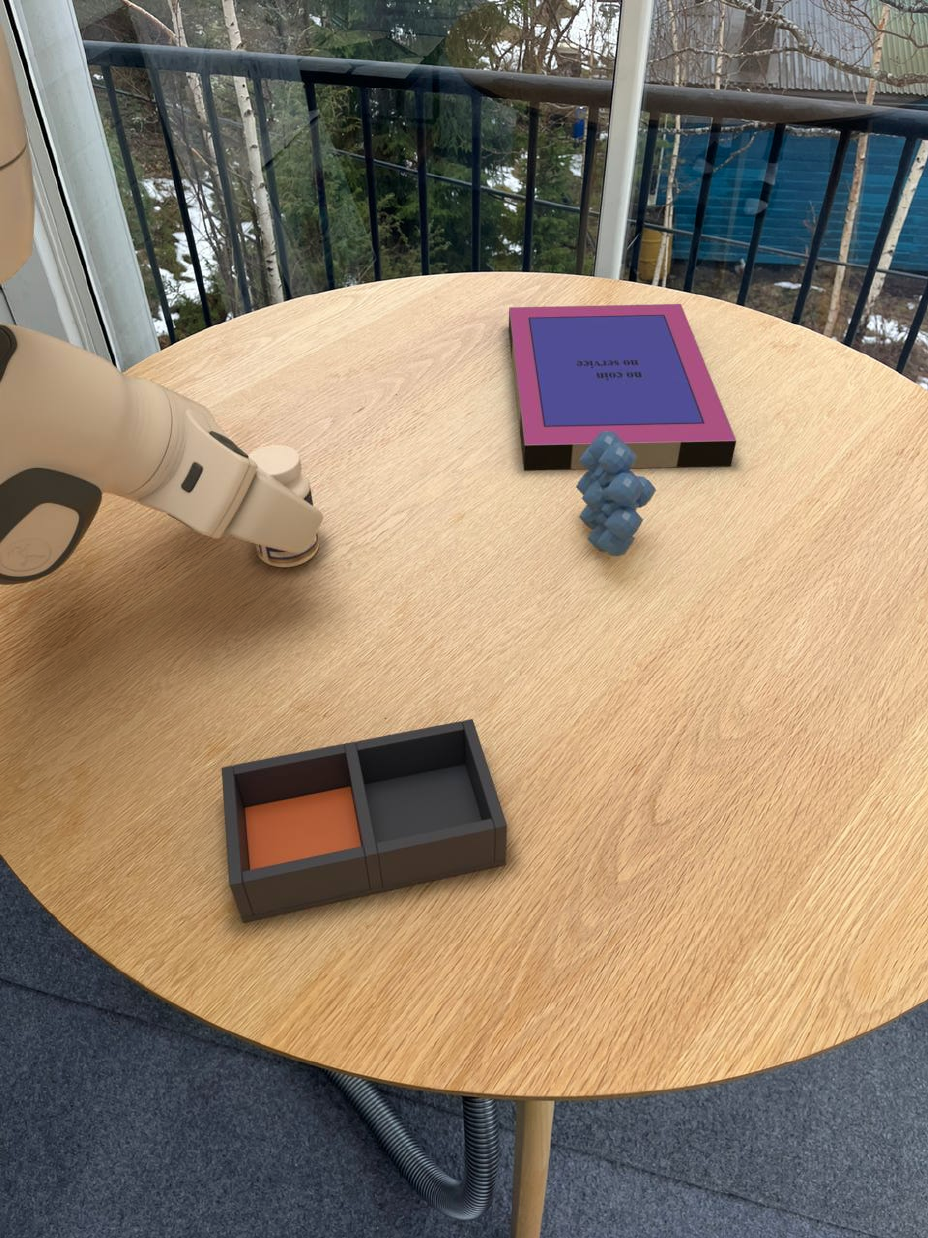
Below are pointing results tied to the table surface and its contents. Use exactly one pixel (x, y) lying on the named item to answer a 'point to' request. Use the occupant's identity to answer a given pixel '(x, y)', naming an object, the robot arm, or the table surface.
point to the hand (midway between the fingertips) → (286, 499)
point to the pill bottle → (288, 472)
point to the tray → (360, 819)
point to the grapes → (612, 494)
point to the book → (614, 386)
